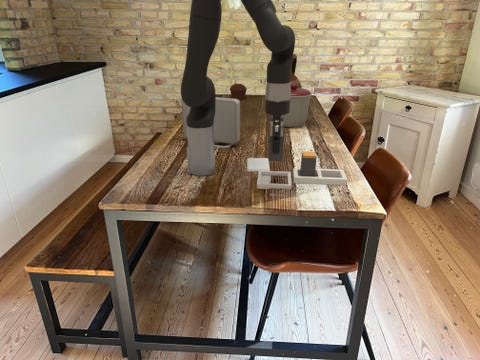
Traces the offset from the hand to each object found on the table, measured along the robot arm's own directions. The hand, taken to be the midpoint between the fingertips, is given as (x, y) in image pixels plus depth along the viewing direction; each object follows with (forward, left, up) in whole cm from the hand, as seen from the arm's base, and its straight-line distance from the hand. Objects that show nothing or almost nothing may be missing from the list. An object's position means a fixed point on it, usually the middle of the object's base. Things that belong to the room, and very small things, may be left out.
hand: (275, 150), depth 114 cm
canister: (+8, +71, -12) cm, 72 cm away
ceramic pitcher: (+6, +123, -12) cm, 124 cm away
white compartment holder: (+15, +3, -12) cm, 19 cm away
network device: (-28, +39, -12) cm, 49 cm away
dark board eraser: (0, 0, -3) cm, 3 cm away
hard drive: (-6, +14, -13) cm, 20 cm away
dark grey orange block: (+11, +3, -11) cm, 16 cm away
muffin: (-26, +130, -12) cm, 133 cm away
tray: (0, 0, -12) cm, 12 cm away
